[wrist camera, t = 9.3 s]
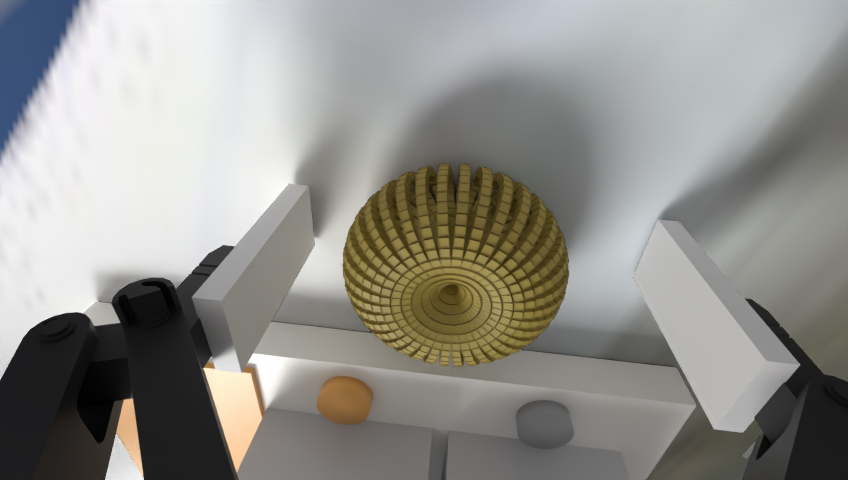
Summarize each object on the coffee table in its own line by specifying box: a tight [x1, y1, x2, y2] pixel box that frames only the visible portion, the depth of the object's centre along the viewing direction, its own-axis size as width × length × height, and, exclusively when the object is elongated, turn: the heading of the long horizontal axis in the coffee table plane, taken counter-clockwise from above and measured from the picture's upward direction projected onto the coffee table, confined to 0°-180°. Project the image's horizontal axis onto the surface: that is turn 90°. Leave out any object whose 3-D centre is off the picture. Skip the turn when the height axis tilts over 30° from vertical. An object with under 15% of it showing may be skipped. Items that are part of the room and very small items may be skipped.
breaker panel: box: [83, 302, 697, 480], centre depth 21 cm, size 28×13×6 cm, turn 87°
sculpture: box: [343, 164, 569, 367], centre depth 15 cm, size 8×4×8 cm
